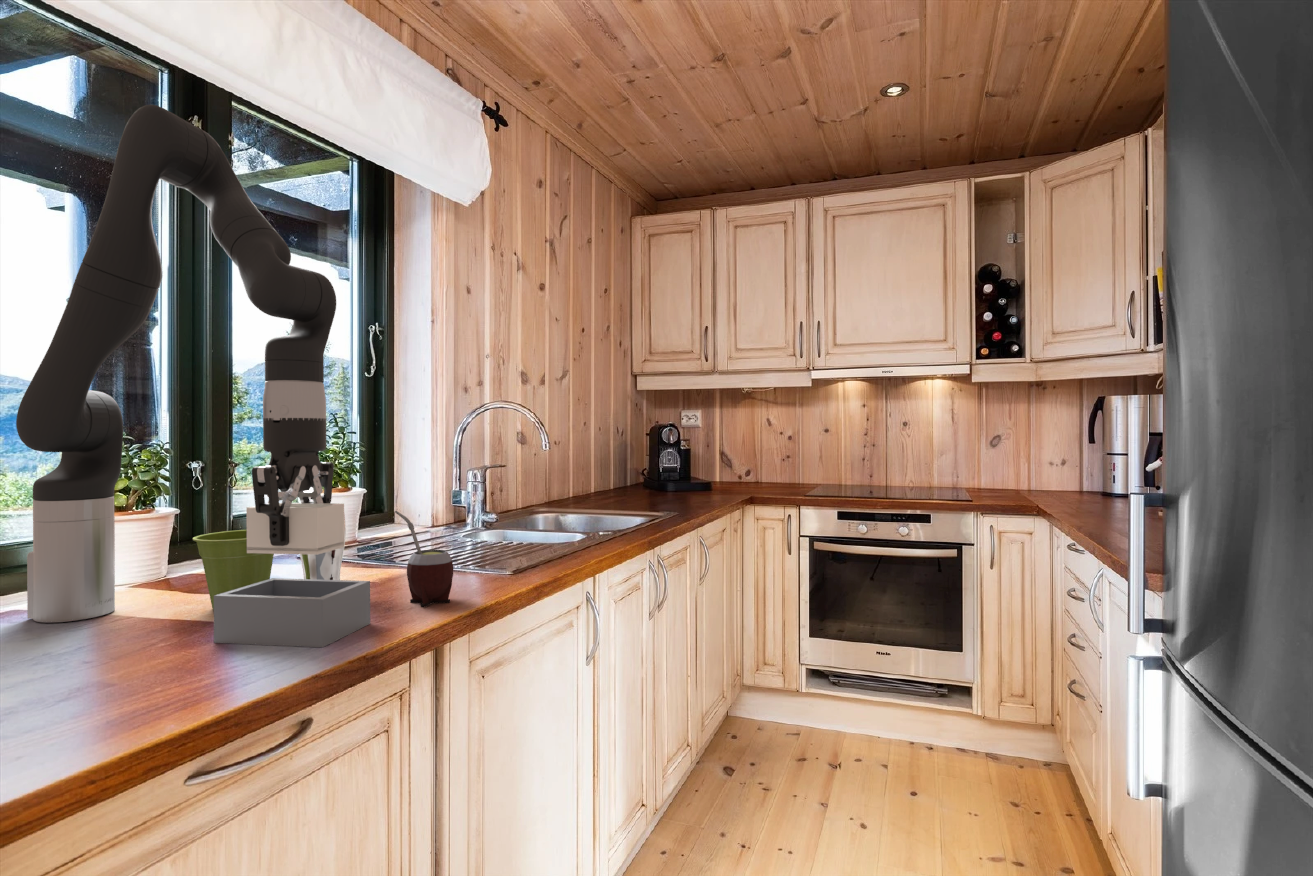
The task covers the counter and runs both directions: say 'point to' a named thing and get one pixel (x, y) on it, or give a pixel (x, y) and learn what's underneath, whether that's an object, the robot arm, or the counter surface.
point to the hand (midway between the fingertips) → (296, 541)
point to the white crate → (299, 529)
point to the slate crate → (291, 612)
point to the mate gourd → (428, 573)
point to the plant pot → (231, 562)
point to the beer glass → (323, 564)
